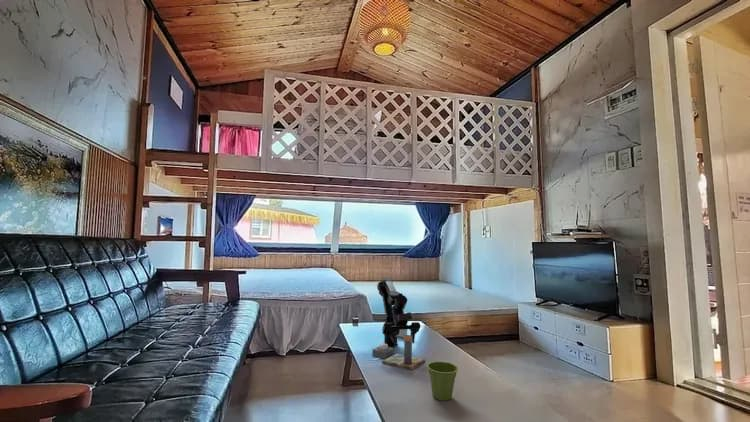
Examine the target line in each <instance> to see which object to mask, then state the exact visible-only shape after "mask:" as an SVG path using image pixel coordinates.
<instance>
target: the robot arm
mask: <svg viewBox="0 0 750 422" xmlns="http://www.w3.org/2000/svg"><path fill="white" fill-rule="evenodd" d="M376 289H377V291H378V295H380V296H381V297H382V301H383V308H384V314H385V320H384V322H383V325H382V329H381V330H382V331H381V332H382V334H383V336H384V337H383V339H384V342H383V344H388V347H391V348H395V347H396V346H398V345H399V343H398V336H397V335H399V331H400V330H405V329H407V330H410V334H409V335H411V336H412V345H414V343H415V339H416V334H417V333H419V331H420V329H421V328H422V327H421V323H420V321H416V322H415V321H414V322H411V324H410V325H408V322H409V320H412V318H413V317H412V316H413V315H412V312H406V313H405V312H404V309H405V308H406V306H407V303H408V298H407V296H406V295H404V294H403V293H401V292H399V291H397V290H396V287H395V285H394V283H393V279H387V278H385V279H383V280H382V281H379V282H378V283H377V284H376ZM406 324H407V325H406Z"/></svg>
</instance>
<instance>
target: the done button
mask: <svg viewBox="0 0 750 422" xmlns="http://www.w3.org/2000/svg"><path fill="white" fill-rule="evenodd" d="M378 347H379V350H383V351H386V350H388V344H384V343H379V344H378Z"/></svg>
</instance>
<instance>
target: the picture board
mask: <svg viewBox="0 0 750 422" xmlns="http://www.w3.org/2000/svg"><path fill="white" fill-rule="evenodd" d="M425 362H426V359H424V358H420V357H415V356H412V364H410V365H407V364H404V354H402V353H394V354H393V355H391V356H390V357H388V358H384V359H383V360H382V361H381V364H383V363H384V365H388V366H393V367H397V368H401V369H404V370H405V369H406V370H409V371H413V370H415V369H416V368H418V367H419V366H421V365H422V364H424V363H425Z"/></svg>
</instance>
